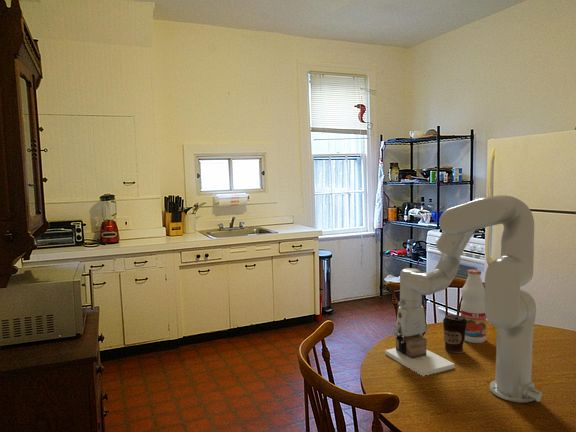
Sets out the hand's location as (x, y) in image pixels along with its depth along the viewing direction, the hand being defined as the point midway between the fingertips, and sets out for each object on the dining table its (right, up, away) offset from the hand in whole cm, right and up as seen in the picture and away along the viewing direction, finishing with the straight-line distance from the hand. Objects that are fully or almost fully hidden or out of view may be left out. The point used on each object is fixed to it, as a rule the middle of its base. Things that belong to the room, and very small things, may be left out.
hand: (410, 350), depth 157 cm
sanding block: (0, -1, 0) cm, 1 cm away
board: (+2, -3, -4) cm, 5 cm away
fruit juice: (+29, 0, +15) cm, 33 cm away
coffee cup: (+18, -2, +4) cm, 18 cm away
